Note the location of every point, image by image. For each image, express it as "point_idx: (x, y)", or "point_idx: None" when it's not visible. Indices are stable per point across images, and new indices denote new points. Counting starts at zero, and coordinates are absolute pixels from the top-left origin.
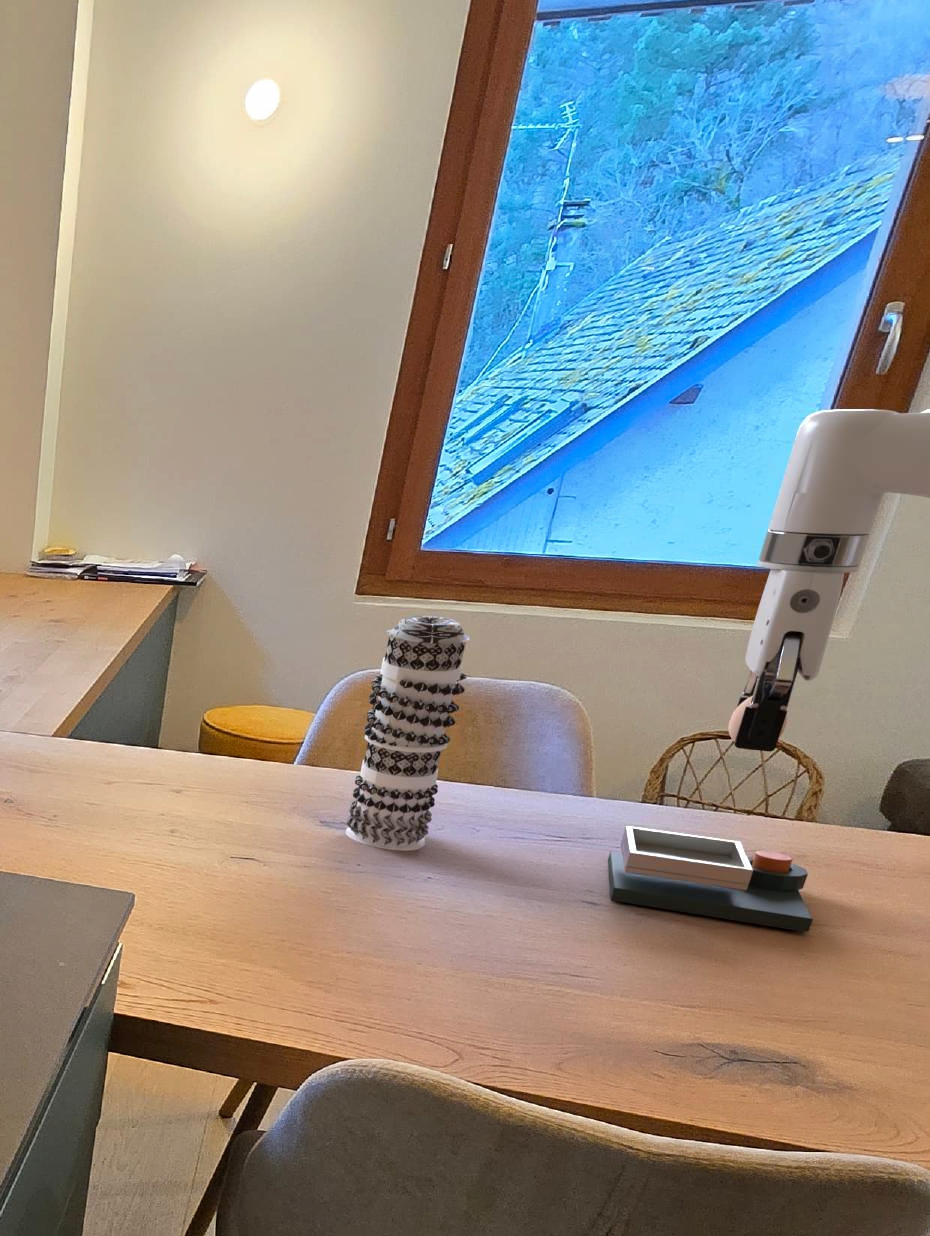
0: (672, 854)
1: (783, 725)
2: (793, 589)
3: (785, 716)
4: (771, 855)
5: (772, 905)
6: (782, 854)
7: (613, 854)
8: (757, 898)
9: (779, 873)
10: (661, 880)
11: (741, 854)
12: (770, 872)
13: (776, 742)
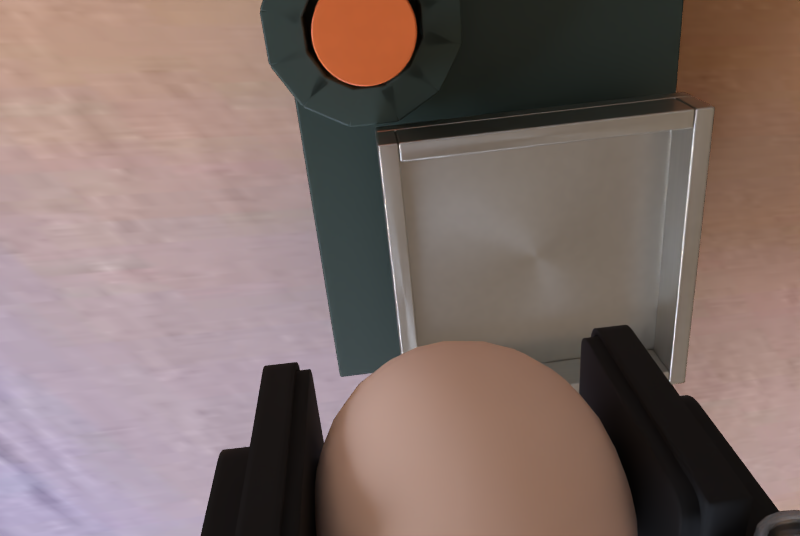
0: (482, 281)
1: (550, 399)
2: None
3: (726, 467)
4: (376, 42)
5: (616, 5)
6: (337, 8)
7: (365, 368)
8: (568, 43)
9: (439, 3)
10: None
11: (547, 141)
12: (443, 28)
13: (642, 350)
